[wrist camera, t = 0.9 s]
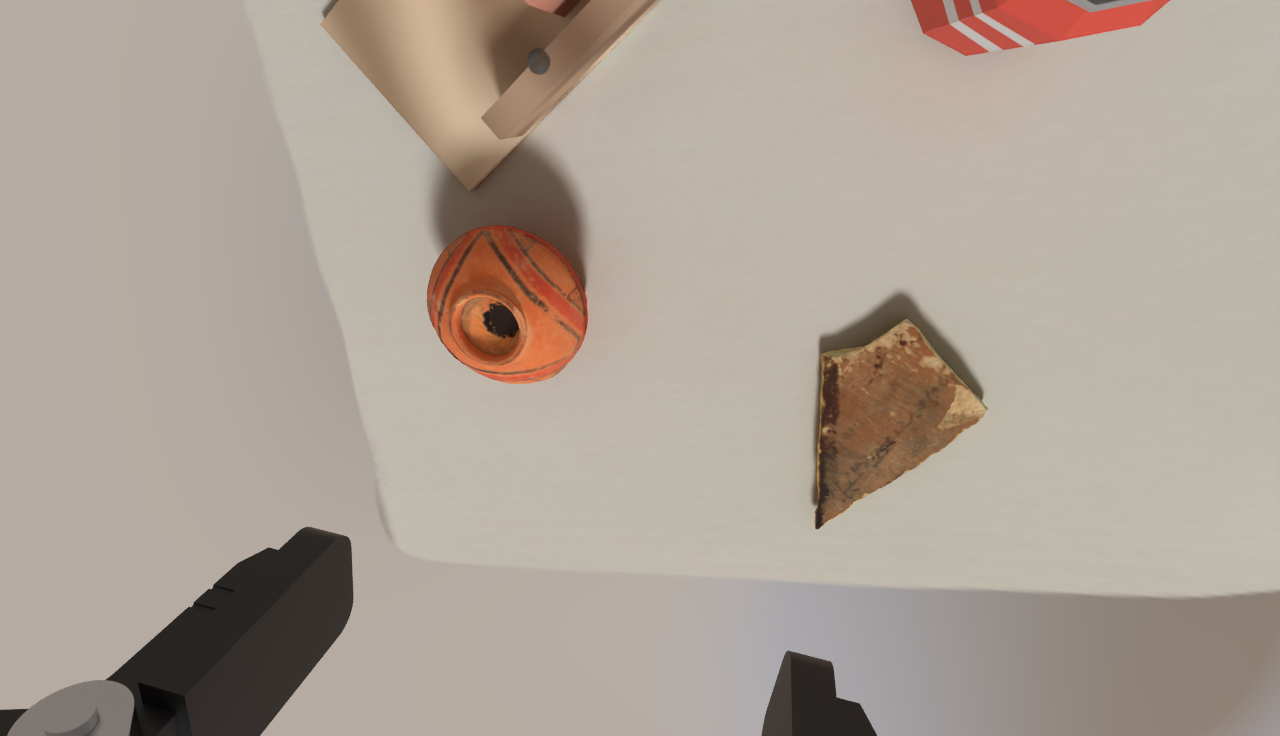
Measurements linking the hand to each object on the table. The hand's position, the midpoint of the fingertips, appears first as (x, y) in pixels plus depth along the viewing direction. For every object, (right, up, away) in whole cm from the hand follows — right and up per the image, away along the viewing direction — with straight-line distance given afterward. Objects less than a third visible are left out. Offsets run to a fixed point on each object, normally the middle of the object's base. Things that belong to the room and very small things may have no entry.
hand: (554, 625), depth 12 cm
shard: (+15, +2, +23) cm, 28 cm away
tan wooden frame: (-4, +22, +18) cm, 28 cm away
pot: (-4, +9, +24) cm, 26 cm away
